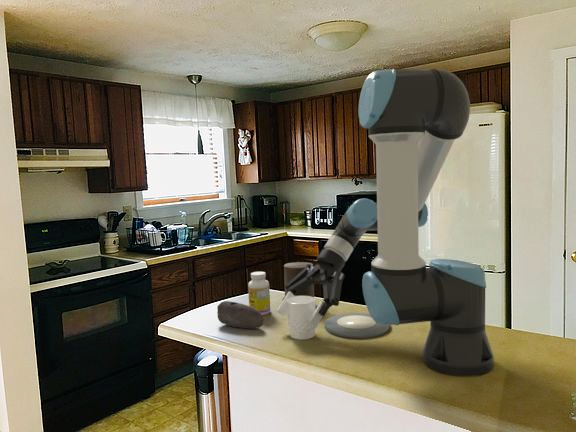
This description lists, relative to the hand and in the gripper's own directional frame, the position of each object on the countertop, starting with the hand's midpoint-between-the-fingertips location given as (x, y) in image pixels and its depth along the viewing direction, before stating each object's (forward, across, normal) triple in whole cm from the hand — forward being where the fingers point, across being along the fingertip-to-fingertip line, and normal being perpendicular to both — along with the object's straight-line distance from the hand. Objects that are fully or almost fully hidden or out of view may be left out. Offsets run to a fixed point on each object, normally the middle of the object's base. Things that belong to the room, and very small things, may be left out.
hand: (295, 319), depth 128 cm
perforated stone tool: (+8, +17, +1) cm, 19 cm away
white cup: (+2, 0, -5) cm, 6 cm away
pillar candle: (-10, +22, -17) cm, 30 cm away
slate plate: (-9, -6, -16) cm, 19 cm away
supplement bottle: (0, +24, -7) cm, 26 cm away
